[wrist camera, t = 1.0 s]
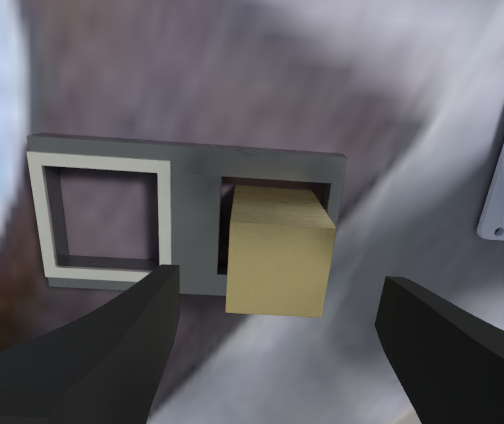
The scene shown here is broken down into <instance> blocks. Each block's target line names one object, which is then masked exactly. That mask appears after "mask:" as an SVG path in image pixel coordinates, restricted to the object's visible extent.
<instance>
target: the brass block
mask: <svg viewBox="0 0 504 424" xmlns="http://www.w3.org/2000/svg"><path fill="white" fill-rule="evenodd" d="M336 230H337V228H336V227H335V225H334V224H333V222H332V221H331V219H330V218H329V216H328V215H327V213H326V212H325V210H324V209H323V207H322V206H321V204H320V203H319V201H318V200H317V198H316V196H315V195H314V193H313V192H312V190H311V189H295V188H280V187H265V186H249V185H235V192H234V199H233V206H232V213H231V220H230V236H229V255H228V274H227V293H226V312H225V313H243V314H262V315H281V316H300V317H318V318H322V314H323V308H324V302H325V296H326V290H327V284H328V278H329V272H330V266H331V260H332V254H333V248H334V242H335V236H336Z"/></svg>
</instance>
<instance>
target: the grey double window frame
mask: <svg viewBox="0 0 504 424" xmlns="http://www.w3.org/2000/svg"><path fill="white" fill-rule="evenodd" d="M27 140H28V147H29V151H27V159H28V165H29V172H30V178H31V185H32V192H33V198H34V205H35V211H36V218H37V225H38V231H39V238H40V244H41V251H42V258H43V264H44V271H45V277H48V281H49V286H51V287H69V288H88V289H107V290H125V291H126V290H128V289H129V288H130V287H132V286H133V285H134V284H136V283H137V282H138V281H140V280H141V279H143V278H144V277H145V276H147V275H148V274H149V273H150V272H152V271H153V270H154V269H156V268H157V267H158V266H160V265H161V264H167V265H180V293H182V294H200V295H219V296H226V293H227V274H228V264H219V248H220V224H221V201H222V177H223V176H226V177H241V178H256V179H272V180H287V181H302V182H317V183H325V188H324V195H323V202H322V207H323V209H324V210H325V212H326V213H327V215H328V216H329V218H330V219H331V221H332V222H333V224H334V225H335V227H337V221H338V215H339V209H340V203H341V197H342V191H343V185H344V179H345V173H346V167H347V161H348V158H347V157H346V156H344V155H343V154H339V153H324V152H310V151H296V150H281V149H267V148H252V147H238V146H223V145H209V144H194V143H180V142H165V141H151V140H136V139H122V138H107V137H93V136H78V135H64V134H49V133H39V134H34V135H28V136H27ZM58 166H59V167H74V168H90V169H105V170H120V171H135V172H150V173H157V175H158V218H159V260H142V259H125V258H107V257H89V256H72V255H69V250H68V242H67V234H66V225H65V217H64V209H63V201H62V193H61V184H60V176H59V168H58Z"/></svg>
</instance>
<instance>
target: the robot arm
mask: <svg viewBox="0 0 504 424" xmlns="http://www.w3.org/2000/svg"><path fill="white" fill-rule="evenodd" d="M497 228H499V230H498V232H496V233H494V232H495V230H496V229H497ZM477 234H478V235H479V236H480V237H482V238H483V239H487V240H502V241H504V144H503V148H502V151H501V154H500V157H499V160H498V163H497V167H496V170H495V173H494V176H493V179H492V183H491V186H490V189H489V192H488V195H487V198H486V202H485V205H484V208H483V211H482V214H481V217H480V221H479V224H478V227H477ZM179 316H180V265H167V264H161V265H160V266H158V267H157V268H156V269H154V270H153V271H152V272H150V273H149V274H148V275H147V276H145V277H144V278H143V279H141V280H140V281H138V282H137V283H136V284H134V285H133V286H132V287H130V288H129V289H128V290H126V291H125V292H123V293H121V294H120V295H118V296H117V297H115V298H114V299H112V300H111V301H109V302H108V303H106V304H105V305H103V306H101V307H100V308H98V309H96V310H94V311H93V312H91V313H89V314H87V315H85V316H83V317H81V318H79V319H78V320H76V321H74V322H72V323H69V324H67V325H65V326H63V327H60V328H58V329H56V330H54V331H51V332H49V333H47V334H44V335H42V336H40V337H37V338H35V339H32V340H30V341H27V342H24V343H22V344H19V345H16V346H13V347H11V348H8V349H5V350H2V351H0V424H146V421H147V417H148V414H149V411H150V408H151V405H152V402H153V399H154V396H155V393H156V391H157V388H158V385H159V382H160V379H161V377H162V374H163V371H164V368H165V366H166V363H167V360H168V357H169V354H170V352H171V349H172V346H173V343H174V339H175V335H176V330H177V326H178V321H179ZM375 327H376V330H377V333H378V336H379V339H380V342H381V345H382V347H383V350H384V352H385V354H386V356H387V358H388V360H389V362H390V364H391V366H392V368H393V370H394V372H395V373H396V375H397V377H398V379H399V381H400V383H401V385H402V387H403V388H404V390H405V392H406V394H407V396H408V398H409V400H410V402H411V404H412V405H413V407H414V409H415V411H416V413H417V415H418V417H419V419H420V421H421V423H422V424H504V331H503V330H501V329H499V328H497V327H495V326H493V325H491V324H489V323H487V322H485V321H483V320H481V319H479V318H477V317H475V316H474V315H472V314H470V313H468V312H466V311H464V310H463V309H461V308H459V307H457V306H455V305H454V304H452V303H450V302H448V301H447V300H445V299H443V298H441V297H440V296H438V295H436V294H434V293H433V292H431V291H429V290H427V289H425V288H424V287H422V286H420V285H418V284H416V283H414V282H412V281H410V280H408V279H406V278H404V277H389V276H386V278H385V282H384V286H383V291H382V295H381V300H380V304H379V308H378V313H377V317H376V321H375Z"/></svg>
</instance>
